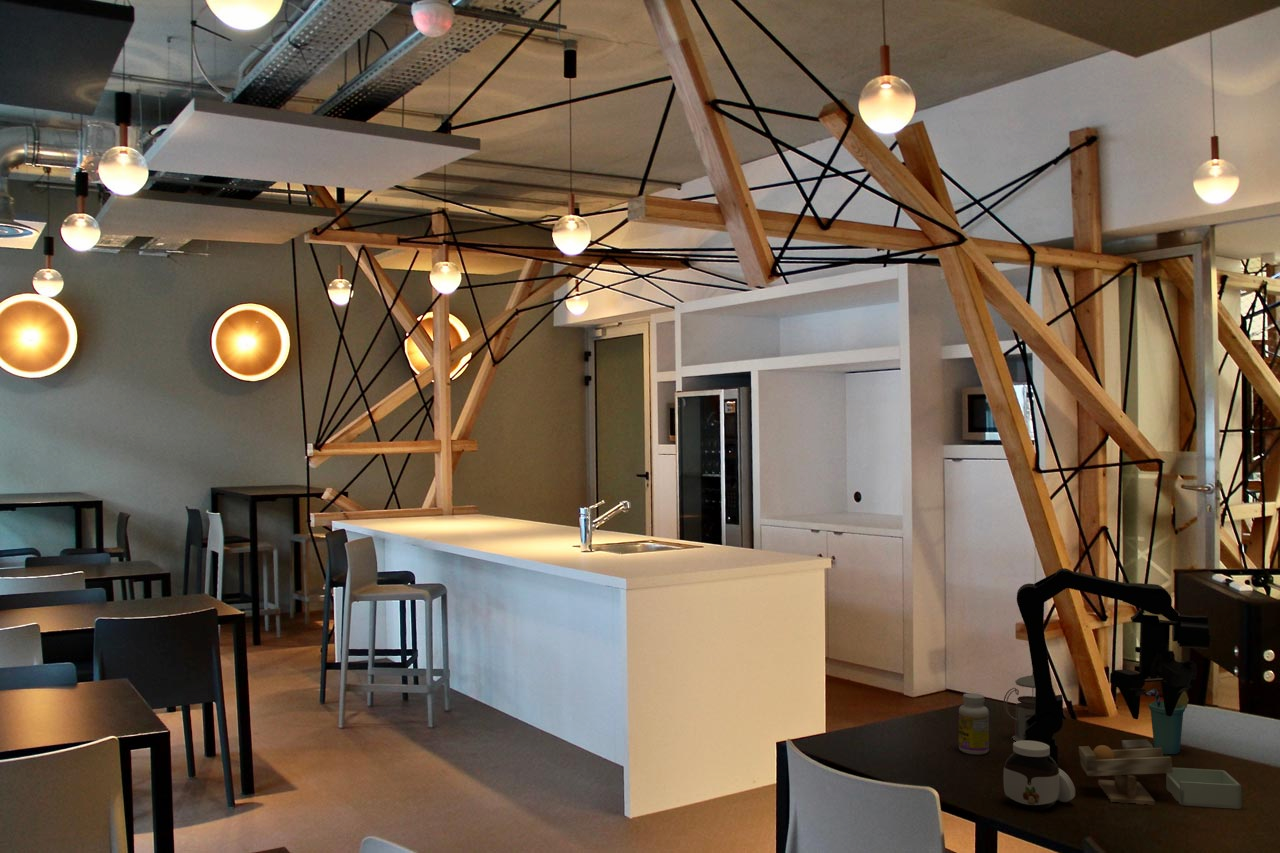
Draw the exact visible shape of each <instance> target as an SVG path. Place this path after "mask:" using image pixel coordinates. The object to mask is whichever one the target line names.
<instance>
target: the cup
mask: <svg viewBox="0 0 1280 853" xmlns="http://www.w3.org/2000/svg"><path fill="white" fill-rule="evenodd" d="M1152 695H1154V696H1155V701H1151V702H1150V703H1149V704H1148V708H1149V710H1150V717H1151V718H1150V720H1151V727H1152V728H1151V730H1152V738H1153V748H1162V749H1163V755H1167V754H1178V753H1179V752H1180V750H1181V743H1182V730H1183V719H1184V713H1185V711H1186V709H1187V707H1188V704H1189V701H1190V698H1189V696H1188V694H1187V690H1185V691H1184V692H1183V693H1182V694H1181V696H1180V698H1179V700H1178V702H1177V705H1176V707H1175V709H1174V712H1173V714H1172V716H1167V715H1166V711H1165V707H1164V700H1161V699H1160V695H1159V692H1158V690H1157V689H1155V688H1152V689H1151V690H1149V691H1147V692H1144V696H1145V697H1149V696H1152ZM1179 754H1180V753H1179ZM1179 754H1178V755H1179Z"/></svg>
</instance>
